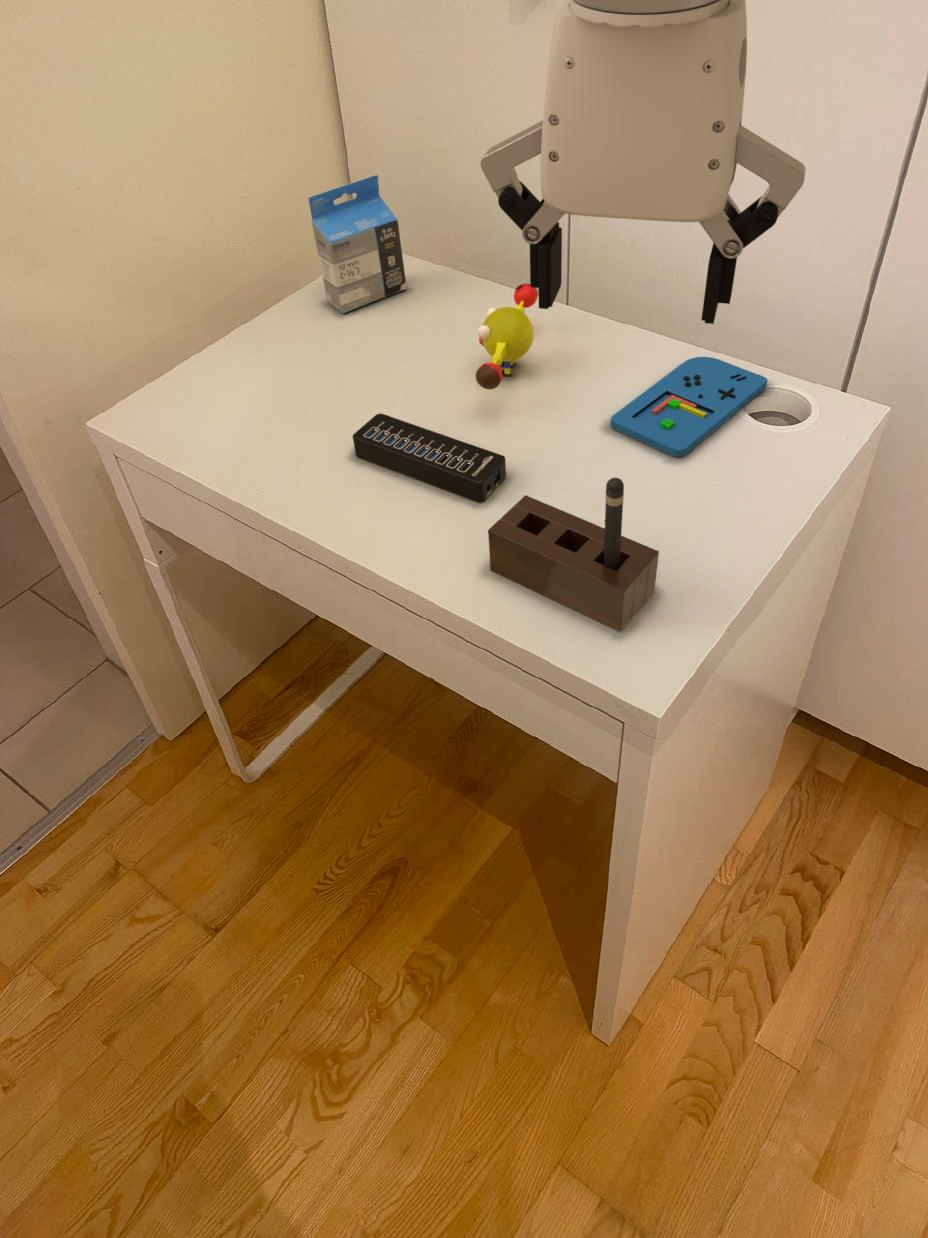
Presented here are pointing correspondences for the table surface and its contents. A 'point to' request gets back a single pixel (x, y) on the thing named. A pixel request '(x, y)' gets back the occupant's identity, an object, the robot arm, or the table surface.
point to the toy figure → (506, 337)
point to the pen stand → (571, 562)
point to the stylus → (613, 523)
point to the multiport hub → (430, 457)
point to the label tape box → (357, 245)
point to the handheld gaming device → (688, 404)
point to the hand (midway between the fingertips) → (628, 304)
